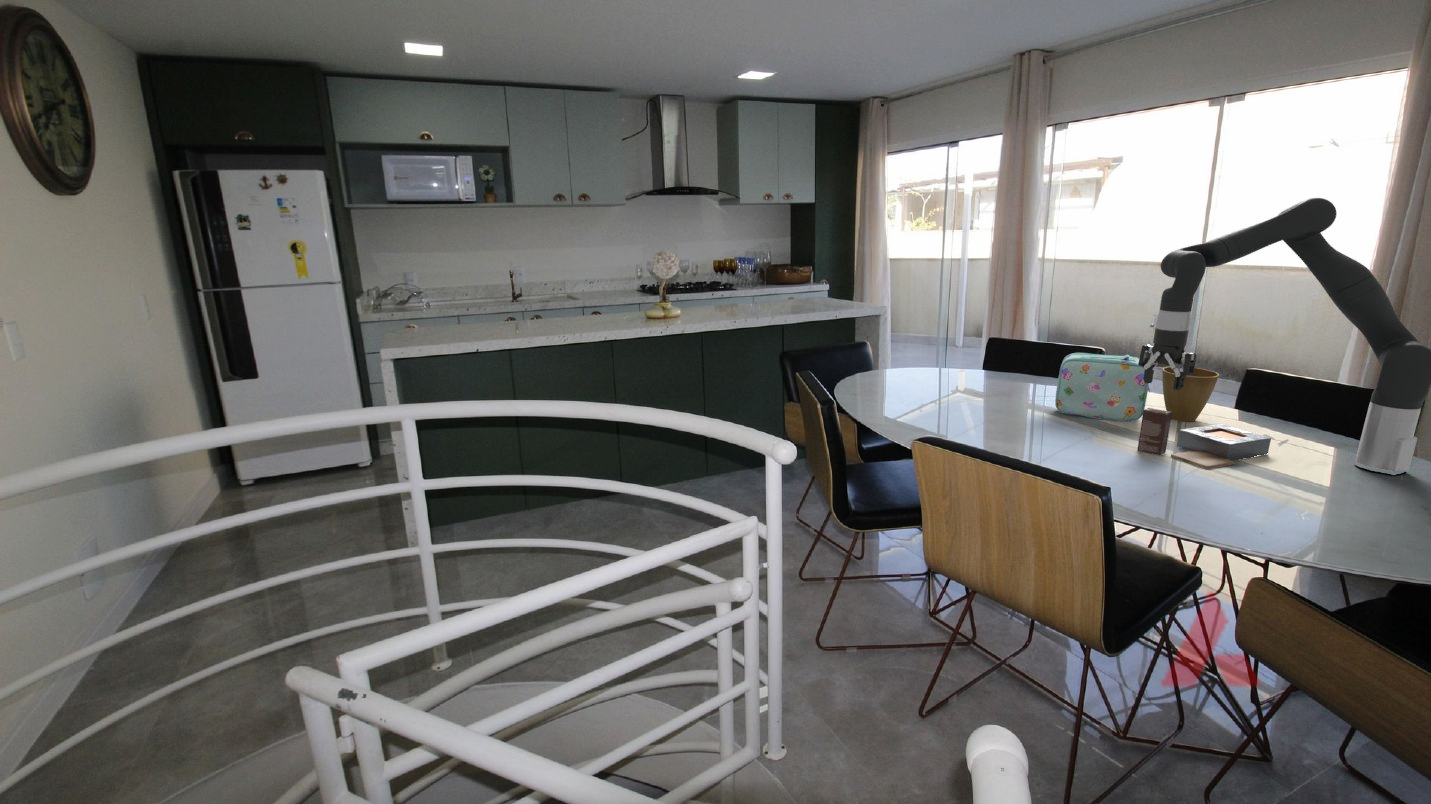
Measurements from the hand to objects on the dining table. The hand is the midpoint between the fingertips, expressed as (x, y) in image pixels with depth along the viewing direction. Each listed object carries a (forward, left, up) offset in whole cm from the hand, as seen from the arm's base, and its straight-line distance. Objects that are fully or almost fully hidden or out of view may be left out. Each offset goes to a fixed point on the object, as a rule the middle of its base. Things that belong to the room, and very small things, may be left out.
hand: (1162, 386), depth 183 cm
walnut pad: (-10, -6, -19) cm, 22 cm away
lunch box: (+32, -16, -19) cm, 41 cm away
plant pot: (+20, -38, -19) cm, 47 cm away
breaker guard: (-6, -19, -19) cm, 27 cm away
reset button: (-6, -19, -16) cm, 26 cm away
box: (0, 0, -19) cm, 19 cm away
